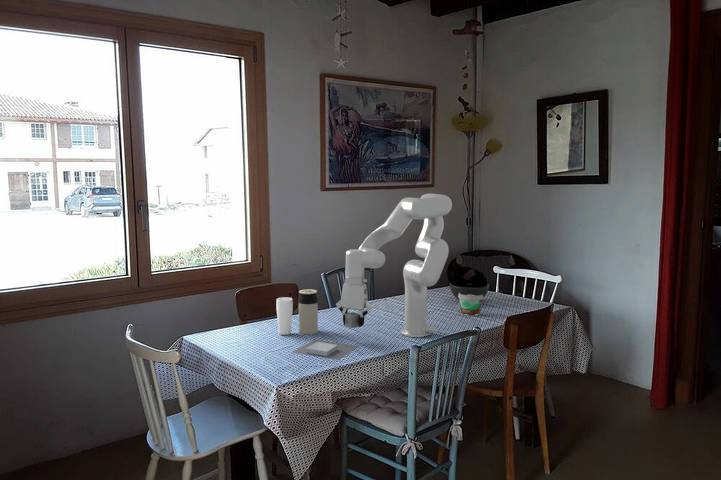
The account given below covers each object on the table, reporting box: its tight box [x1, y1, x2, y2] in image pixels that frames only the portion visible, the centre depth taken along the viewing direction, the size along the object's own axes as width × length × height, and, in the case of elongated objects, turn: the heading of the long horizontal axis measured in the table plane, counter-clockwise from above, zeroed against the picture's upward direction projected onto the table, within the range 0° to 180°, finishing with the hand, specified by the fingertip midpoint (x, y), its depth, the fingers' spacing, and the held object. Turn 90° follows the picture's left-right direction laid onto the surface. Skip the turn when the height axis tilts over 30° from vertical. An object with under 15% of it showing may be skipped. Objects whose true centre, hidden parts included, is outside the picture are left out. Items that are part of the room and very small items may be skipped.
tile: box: [306, 342, 338, 356], centre depth 224 cm, size 9×2×9 cm
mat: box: [292, 339, 360, 361], centre depth 228 cm, size 20×18×1 cm
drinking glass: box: [275, 296, 294, 336], centre depth 248 cm, size 7×7×15 cm
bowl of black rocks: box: [449, 266, 490, 302], centre depth 305 cm, size 20×20×19 cm
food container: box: [458, 292, 485, 315], centre depth 282 cm, size 12×6×10 cm, turn 68°
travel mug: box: [298, 288, 319, 335], centre depth 250 cm, size 8×8×18 cm
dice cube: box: [343, 311, 360, 329], centre depth 236 cm, size 5×5×5 cm
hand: (353, 324), depth 236 cm, fingers closed on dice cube, 6 cm apart
